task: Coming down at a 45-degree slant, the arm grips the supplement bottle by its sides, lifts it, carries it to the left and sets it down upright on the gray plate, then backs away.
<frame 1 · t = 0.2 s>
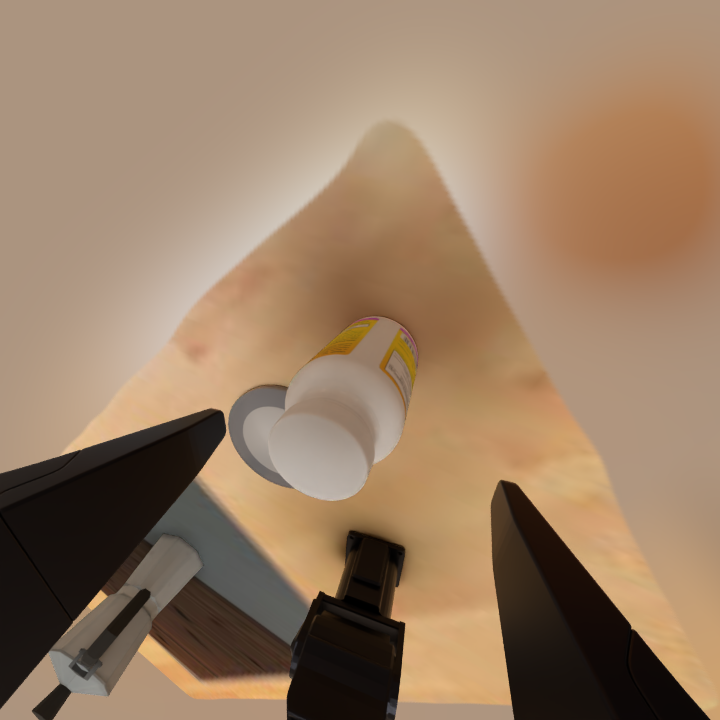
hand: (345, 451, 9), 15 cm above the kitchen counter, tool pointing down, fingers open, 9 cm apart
gray plate: (284, 436, 30), on the kitchen counter
supplement bottle: (379, 353, 24), on the kitchen counter
coffee maker: (183, 549, 46), on the kitchen counter
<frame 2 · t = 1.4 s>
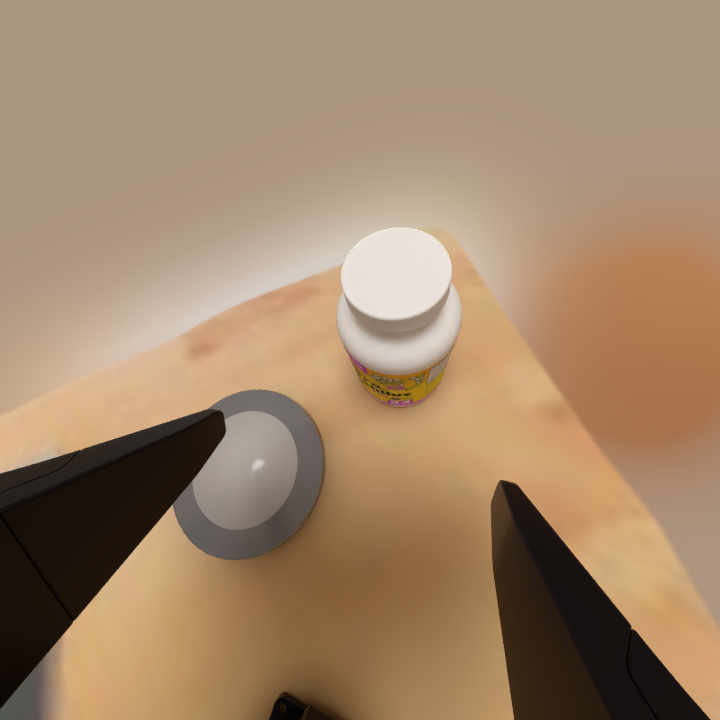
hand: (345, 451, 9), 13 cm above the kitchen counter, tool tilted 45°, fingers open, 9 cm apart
gray plate: (251, 466, 23), on the kitchen counter
supplement bottle: (400, 370, 24), on the kitchen counter
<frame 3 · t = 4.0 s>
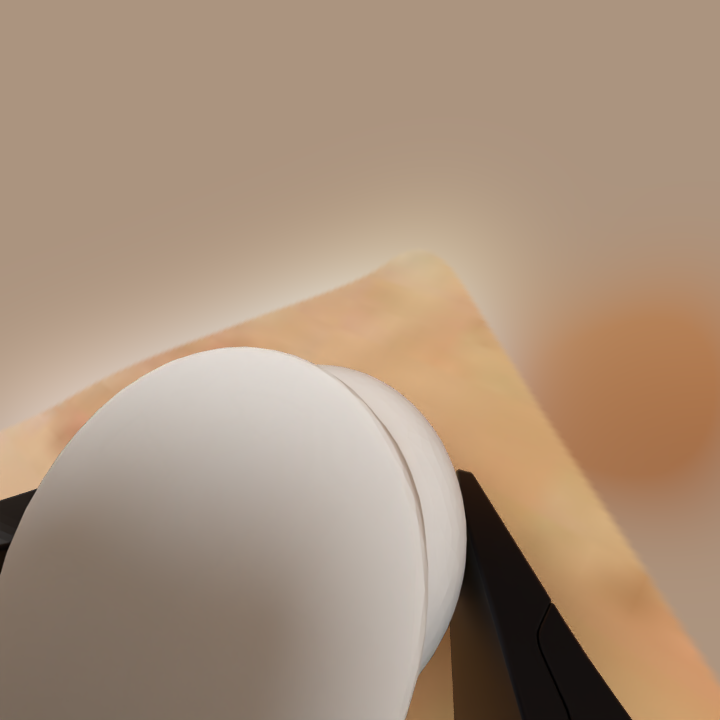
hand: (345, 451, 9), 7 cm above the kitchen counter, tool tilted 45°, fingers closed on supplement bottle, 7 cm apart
supplement bottle: (363, 488, 15), on the kitchen counter, touching gripper
when the fingers open (9 cm above the kitchen counter, at t = 7.4 s): supplement bottle drops 1 cm, resting on gray plate.
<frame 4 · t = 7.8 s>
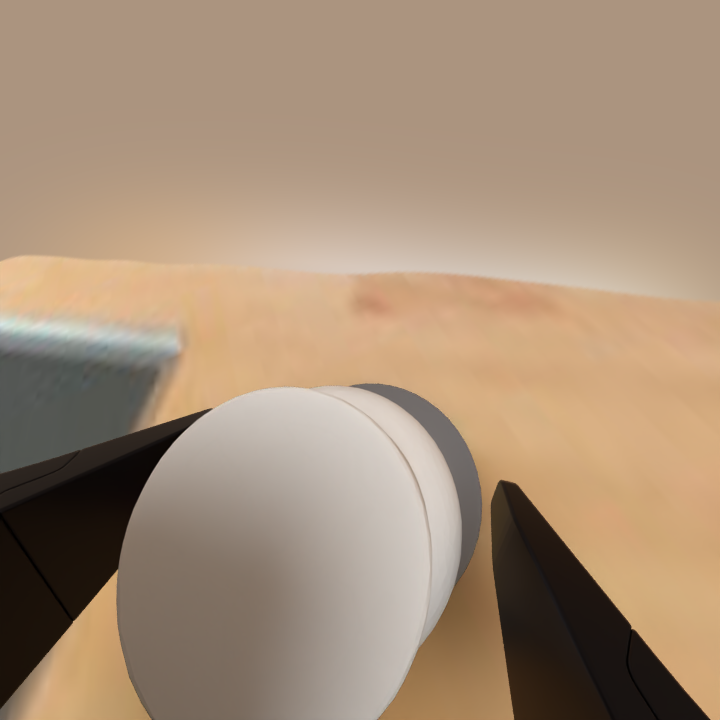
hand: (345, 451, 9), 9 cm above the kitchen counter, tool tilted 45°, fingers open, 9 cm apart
gray plate: (369, 486, 17), on the kitchen counter
supplement bottle: (369, 490, 16), point 1 cm above the kitchen counter, touching gray plate
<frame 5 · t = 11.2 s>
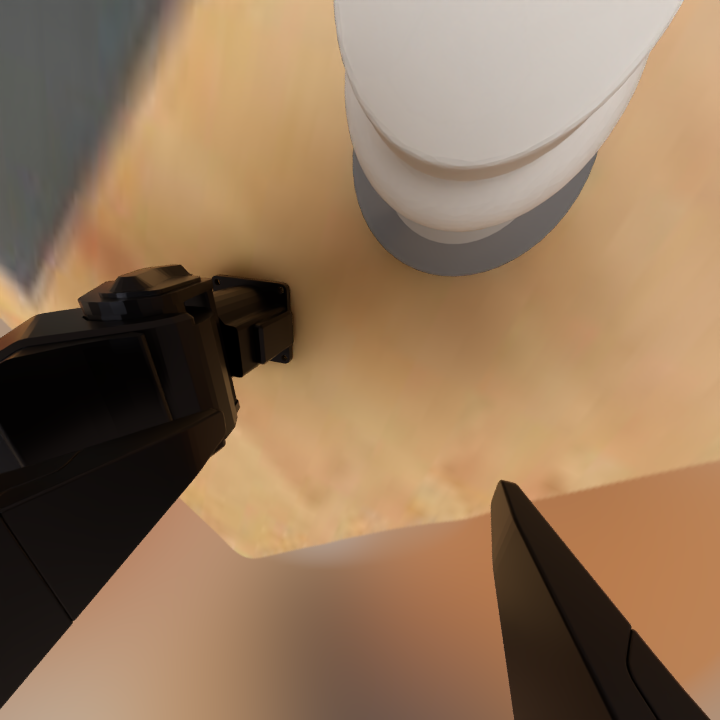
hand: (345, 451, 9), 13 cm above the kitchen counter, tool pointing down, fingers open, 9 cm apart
gray plate: (462, 160, 16), on the kitchen counter
supplement bottle: (462, 160, 15), point 1 cm above the kitchen counter, touching gray plate
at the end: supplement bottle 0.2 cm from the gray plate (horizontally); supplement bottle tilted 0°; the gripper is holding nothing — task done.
